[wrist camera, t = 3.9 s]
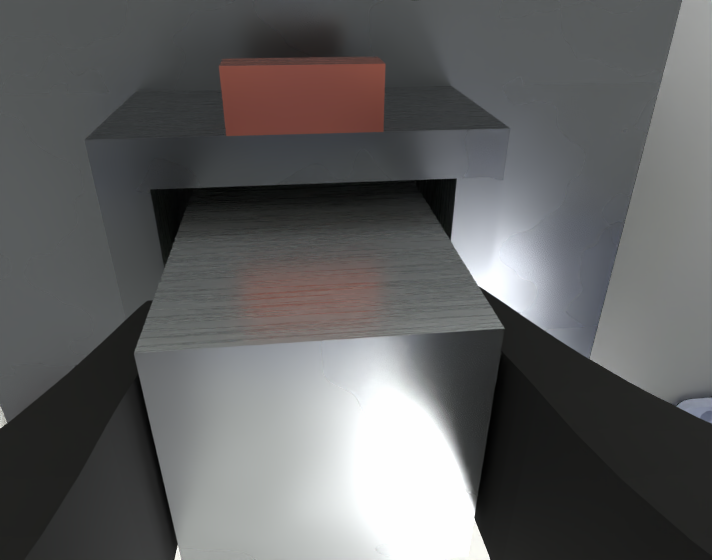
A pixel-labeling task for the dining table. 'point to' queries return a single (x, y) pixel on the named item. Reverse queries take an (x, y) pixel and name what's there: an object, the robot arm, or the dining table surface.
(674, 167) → the dining table surface
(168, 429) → the column
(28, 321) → the stand
